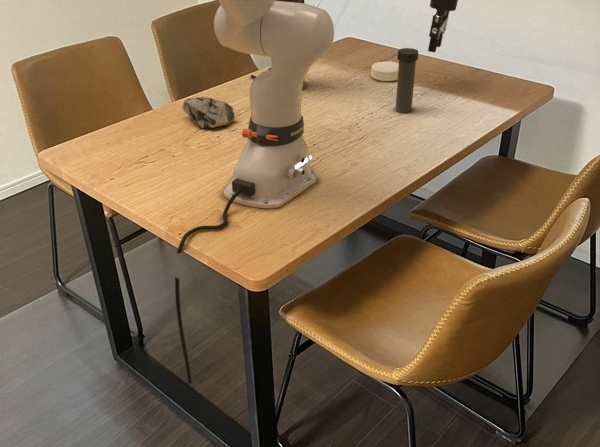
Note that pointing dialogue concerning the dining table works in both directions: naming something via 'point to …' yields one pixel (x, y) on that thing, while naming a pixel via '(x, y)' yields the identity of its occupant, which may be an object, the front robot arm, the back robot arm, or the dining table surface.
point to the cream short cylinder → (385, 71)
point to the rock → (208, 112)
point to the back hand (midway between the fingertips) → (434, 49)
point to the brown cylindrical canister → (405, 86)
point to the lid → (407, 55)
